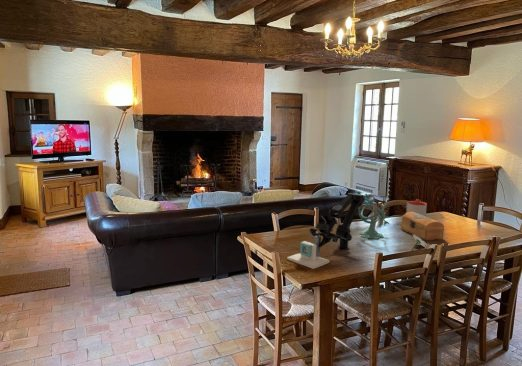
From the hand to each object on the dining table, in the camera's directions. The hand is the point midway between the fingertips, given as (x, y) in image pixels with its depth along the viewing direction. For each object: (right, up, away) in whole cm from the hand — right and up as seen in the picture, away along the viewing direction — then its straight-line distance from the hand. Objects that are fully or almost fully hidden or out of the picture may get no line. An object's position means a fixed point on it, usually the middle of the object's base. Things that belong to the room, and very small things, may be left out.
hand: (317, 246), depth 242 cm
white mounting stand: (-6, -8, -4) cm, 11 cm away
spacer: (-8, -4, -7) cm, 11 cm away
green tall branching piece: (+48, 0, +49) cm, 69 cm away
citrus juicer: (+94, +5, +90) cm, 130 cm away
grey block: (-3, -6, -2) cm, 7 cm away
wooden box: (+86, 0, +57) cm, 103 cm away
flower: (+68, -5, +23) cm, 72 cm away
